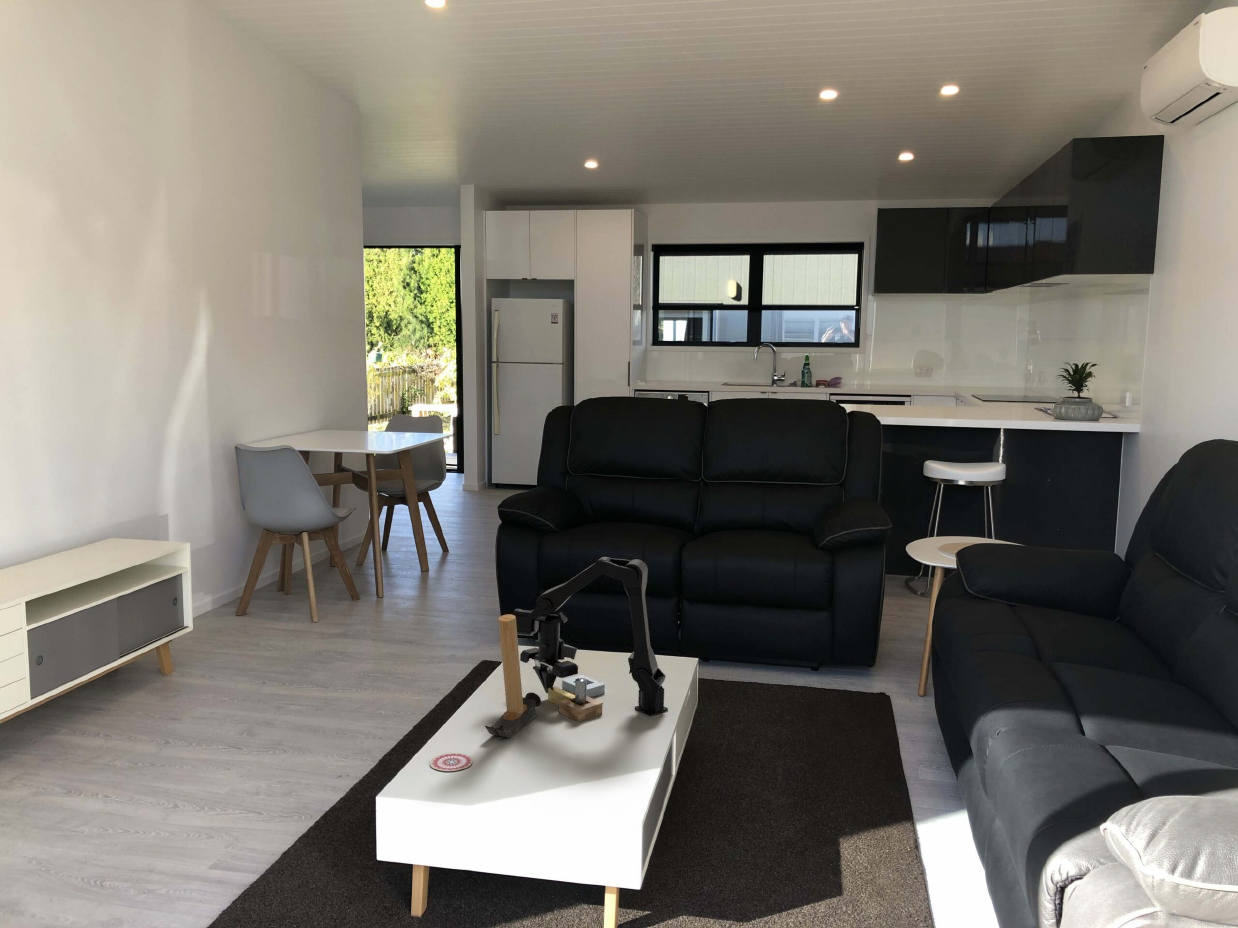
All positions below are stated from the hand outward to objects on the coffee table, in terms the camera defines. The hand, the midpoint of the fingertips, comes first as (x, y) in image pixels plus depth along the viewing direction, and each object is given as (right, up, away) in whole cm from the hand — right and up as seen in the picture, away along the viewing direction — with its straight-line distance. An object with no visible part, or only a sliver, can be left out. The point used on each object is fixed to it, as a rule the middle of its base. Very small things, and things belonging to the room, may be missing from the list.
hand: (548, 692), depth 250 cm
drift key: (+4, -2, -5) cm, 6 cm away
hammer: (-7, -4, -20) cm, 21 cm away
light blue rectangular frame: (+9, -1, +6) cm, 11 cm away
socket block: (+9, -3, -10) cm, 14 cm away
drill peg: (+9, -3, -10) cm, 14 cm away
